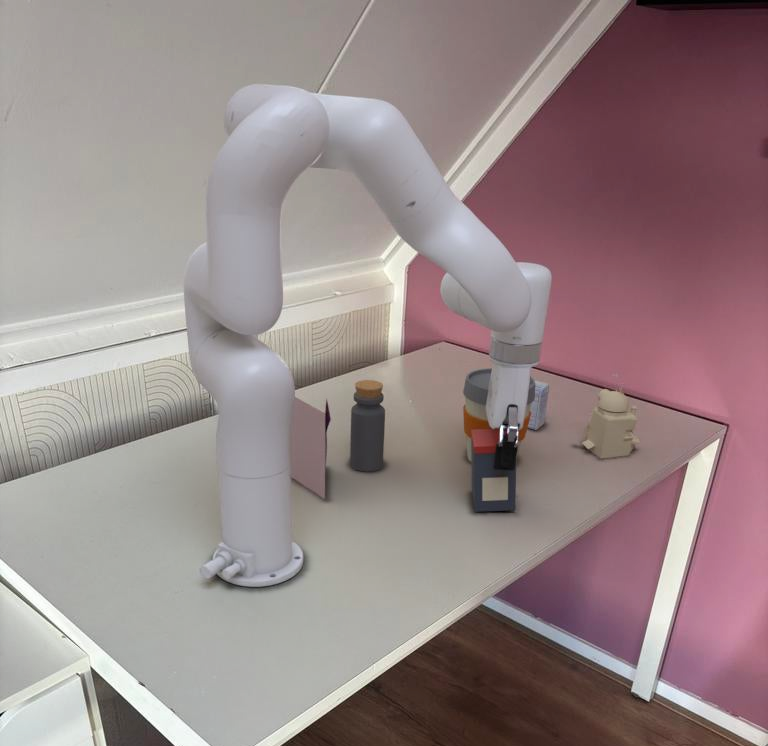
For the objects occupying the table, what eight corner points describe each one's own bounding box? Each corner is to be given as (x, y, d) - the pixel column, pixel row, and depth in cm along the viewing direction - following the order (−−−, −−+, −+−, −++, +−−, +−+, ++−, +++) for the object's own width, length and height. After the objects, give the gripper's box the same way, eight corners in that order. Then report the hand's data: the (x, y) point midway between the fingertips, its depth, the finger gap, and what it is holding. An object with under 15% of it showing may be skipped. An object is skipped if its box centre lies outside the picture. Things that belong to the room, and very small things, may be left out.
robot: (617, 437, 158) (631, 363, 151) (641, 454, 151) (657, 378, 144) (570, 442, 155) (583, 367, 148) (593, 459, 148) (607, 382, 141)
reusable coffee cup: (493, 438, 155) (501, 363, 148) (540, 462, 146) (552, 384, 139) (443, 452, 148) (449, 375, 141) (489, 479, 140) (499, 397, 132)
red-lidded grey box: (471, 493, 134) (511, 491, 134) (474, 512, 128) (516, 510, 128) (471, 429, 129) (512, 427, 128) (474, 446, 123) (517, 444, 123)
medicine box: (544, 424, 162) (550, 383, 158) (536, 431, 159) (541, 389, 155) (509, 415, 166) (513, 375, 162) (499, 421, 163) (504, 381, 158)
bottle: (379, 473, 140) (382, 392, 132) (346, 469, 141) (348, 388, 133) (385, 459, 145) (389, 380, 138) (354, 456, 146) (355, 377, 138)
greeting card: (330, 499, 131) (330, 413, 123) (284, 499, 130) (282, 413, 123) (329, 468, 141) (330, 387, 133) (287, 468, 140) (285, 386, 133)
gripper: (484, 332, 126) (472, 433, 135) (495, 367, 111) (481, 478, 119) (532, 335, 126) (517, 436, 135) (549, 370, 111) (531, 481, 119)
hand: (500, 455), depth 127 cm, fingers open, 9 cm apart
